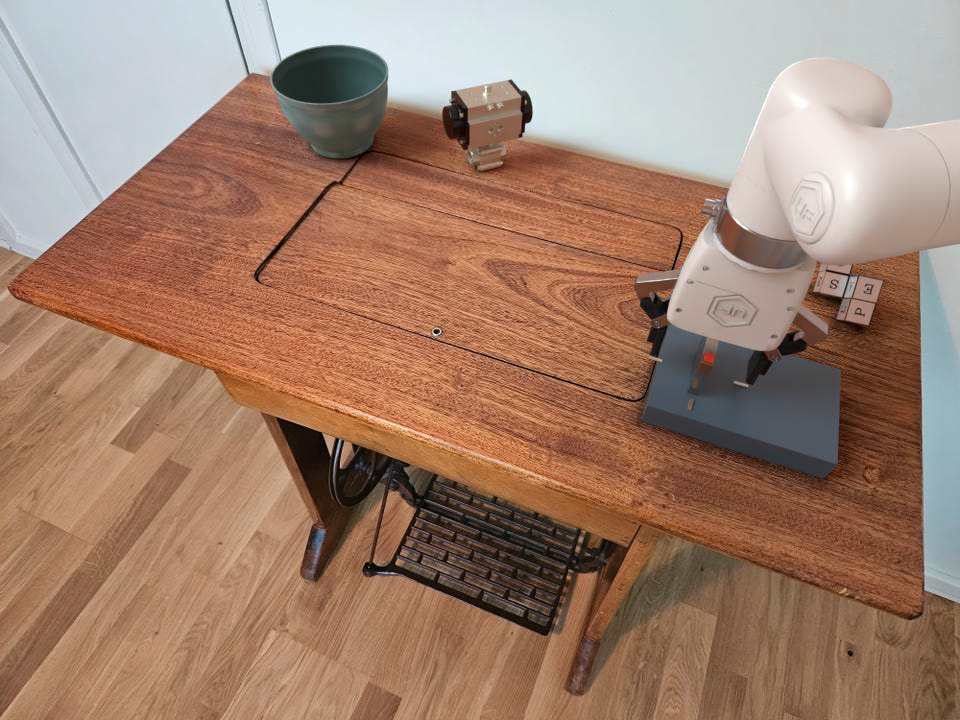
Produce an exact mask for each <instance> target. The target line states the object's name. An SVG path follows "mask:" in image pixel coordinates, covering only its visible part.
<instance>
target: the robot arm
mask: <svg viewBox="0 0 960 720" xmlns="http://www.w3.org/2000/svg"><path fill="white" fill-rule="evenodd" d="M892 110H893V94H892V91H891V88H890V87H889V86H888V83H887V82H886V81H885V79H884V78H883V77H881V76H880V75H879V74H878V73H876V72H874V71H873V70H871V69H869V68H867V67H865V66H863V65H860V64H858V63H855V62H853V61H852V62H851V61H848V60H843V59H841V58H840V59H838V58H832V57H813V58H806V59H803V60H799V61H797V62H794V63H792V64H790V65H789V66H787V67H786V68H785V69H784V70H782V71H781V72H780V73H779V74H778V75H777V76H776V78H775V80H774V81H773V82H772V84H771V86H770V88H769V90H768V93H767V95H766V97H765V100H764V102H763V105H762V108H761V110H760V112H759V114H758V116H757V120H756V122H755V124H754V127H753V130H752V132H751V135H750V136H749V139H748V142H747V145H746V147H745V149H744V151H743V155H742V156H741V159H740V162H739V165H738V167H737V170H736V172H735V174H734V177H733V179H732V182H731V184H730V187H729V189H727V192H726V194H725V196H721V198H720V199H717V198H716V199H714V200H713V199H709V198H705V200H704V201H703V204H702V207H701V209H700V210H701V211H700V214H699V215H700V216H703V217H706V218H708V220H709V221H708V222H707V223H706V225H705V226H704V228H703V229H702V230H701V232H700V233H699V235H698V236H697V238H696V239H695V241H694V243H693V244H692V246H691V248H690V250H689V252H688V253H687V256H686V258H685V260H684V262H683V264H682V267H681V269H674V270H665V271H656V272H647V273H639V274H637V275H636V278H635V281H634V282H633V283H634V284H633V288H634V291H635V293H636V296H637V299H638V300H639V306H640V308H641V309H642V311H644V313H645V315H647V317H648V318H649V319H650V326H651V327H650V329H649V332H648V336H647V339H646V343H651V344H652V346H651V349H650V352H649V356H652V357H656V356H658V355H659V352H660V348H661V345H662V342H663V340H664V337H665V334H666V331H667V328H668V325H669V324H673V325H674V326H676V327H678V328H680V329H683V330H686V331H689V332H692V333H695V334H699V335H702V336H706V337H709V338H712V339H716V340H720V341H723V342H727V343H730V344H734V345H738V346H741V347H745V348H749V349H753V350H755V351H754V352H753V354H752V356H751V358H750V359H749V362H748V368H747V374H746V382H747V384H750V385H753V384H754V383H755V381H756V379H757V378H758V376H759V375H765V374H766V373H767V371H768V370H769V368H770V366H771V365H772V363H773V362H778V361H780V360H781V359H782V356H786V355H794V354H798V353H799V354H800V353H803V352H805V351H807V348H808V347H812V346H814V345H817V344H819V343H821V342H823V341H825V340H827V339H828V337H829V325H828V323H826V322H825V321H824V320H823V319H821V318H820V317H819V316H818V315H816V314H815V313H814V312H813V311H811V310H810V309H808V308H807V307H806V306H805V305H803V301H804V299H805V297H806V295H807V293H808V291H809V288H810V285H811V283H812V280H813V277H814V274H815V271H816V268H817V264H818V262H819V263H820V264H821V263H824V264H828V265H852V264H853V265H857V264H858V265H859V264H862V263H867V262H873V261H878V260H884V259H890V258H894V257H900V256H905V255H908V254H911V253H916V252H922V251H927V250H933V249H938V248H943V247H950V246H955V245H960V119H953V120H946V121H945V120H944V121H938V122H931V123H926V124H919V125H913V126H906V127H900V128H891V127H889V128H888V127H885V126H886V123H887V122H888V120H889V118H890V115H891V112H892ZM669 290H672V293H671V295H669V296H666V297H664V298H662V299H661V298H660V297H659V294H657V292H658V291H669ZM792 324H793V325H795V326H796V327H797V328H798V329H800V330H795V331H791V332H789V330H790V329H791V326H792Z"/></svg>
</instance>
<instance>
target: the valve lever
mask: <svg viewBox="0 0 960 720" xmlns="http://www.w3.org/2000/svg"><path fill="white" fill-rule="evenodd" d="M718 343H719V340H716V339H712V338H709V337H706V336H702V338H701V341H700V343H699V345H698V347H697V349H696V354H695V358H694V362H693V367H692V371H691V376H690V380H689V385H688V389H687V392H688V393H692V394H695V395H699V394H700V392H701V390H702V388H703V386H704V384H705V382H706V380H707V378H708V376H709V375H710V373H711V371H712V369H713V367H714V363H715V358H716V353H717V348H718Z"/></svg>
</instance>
